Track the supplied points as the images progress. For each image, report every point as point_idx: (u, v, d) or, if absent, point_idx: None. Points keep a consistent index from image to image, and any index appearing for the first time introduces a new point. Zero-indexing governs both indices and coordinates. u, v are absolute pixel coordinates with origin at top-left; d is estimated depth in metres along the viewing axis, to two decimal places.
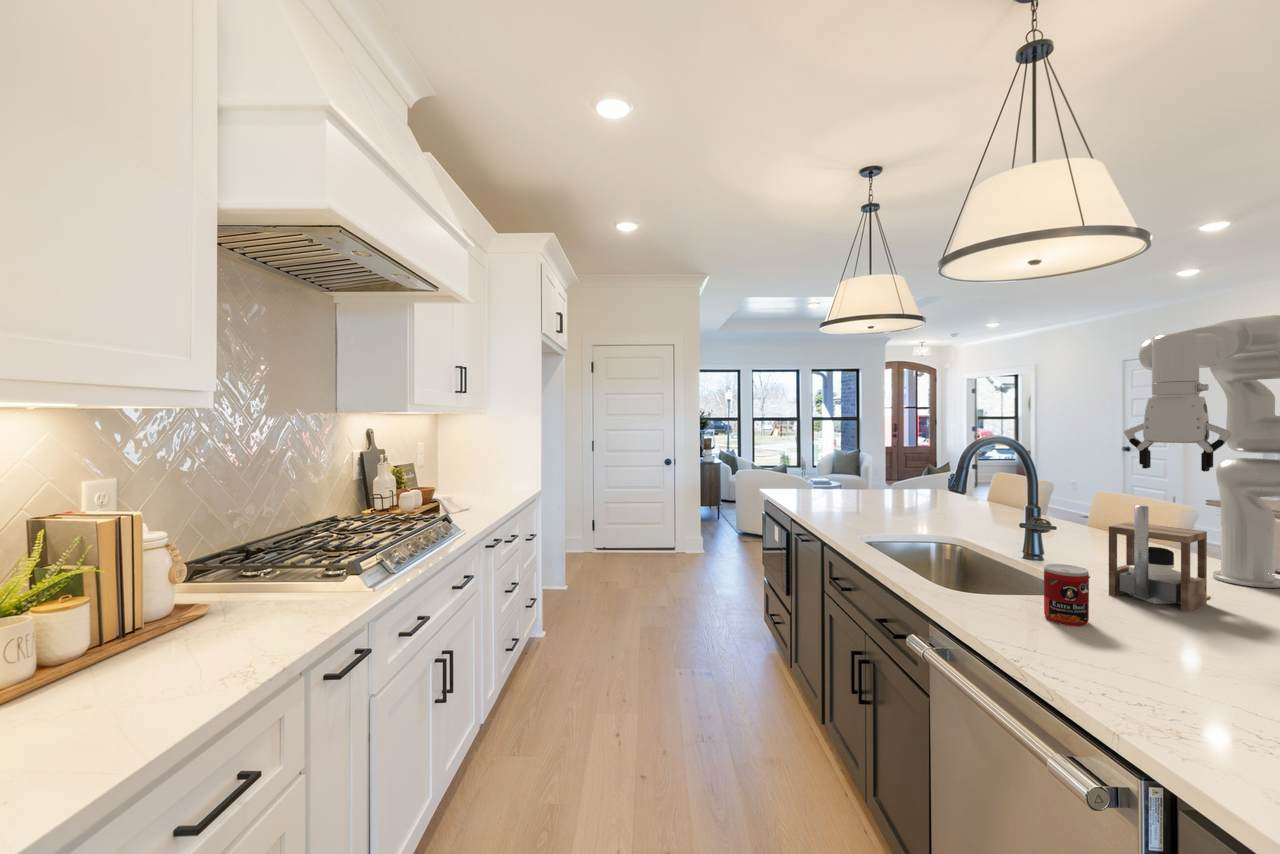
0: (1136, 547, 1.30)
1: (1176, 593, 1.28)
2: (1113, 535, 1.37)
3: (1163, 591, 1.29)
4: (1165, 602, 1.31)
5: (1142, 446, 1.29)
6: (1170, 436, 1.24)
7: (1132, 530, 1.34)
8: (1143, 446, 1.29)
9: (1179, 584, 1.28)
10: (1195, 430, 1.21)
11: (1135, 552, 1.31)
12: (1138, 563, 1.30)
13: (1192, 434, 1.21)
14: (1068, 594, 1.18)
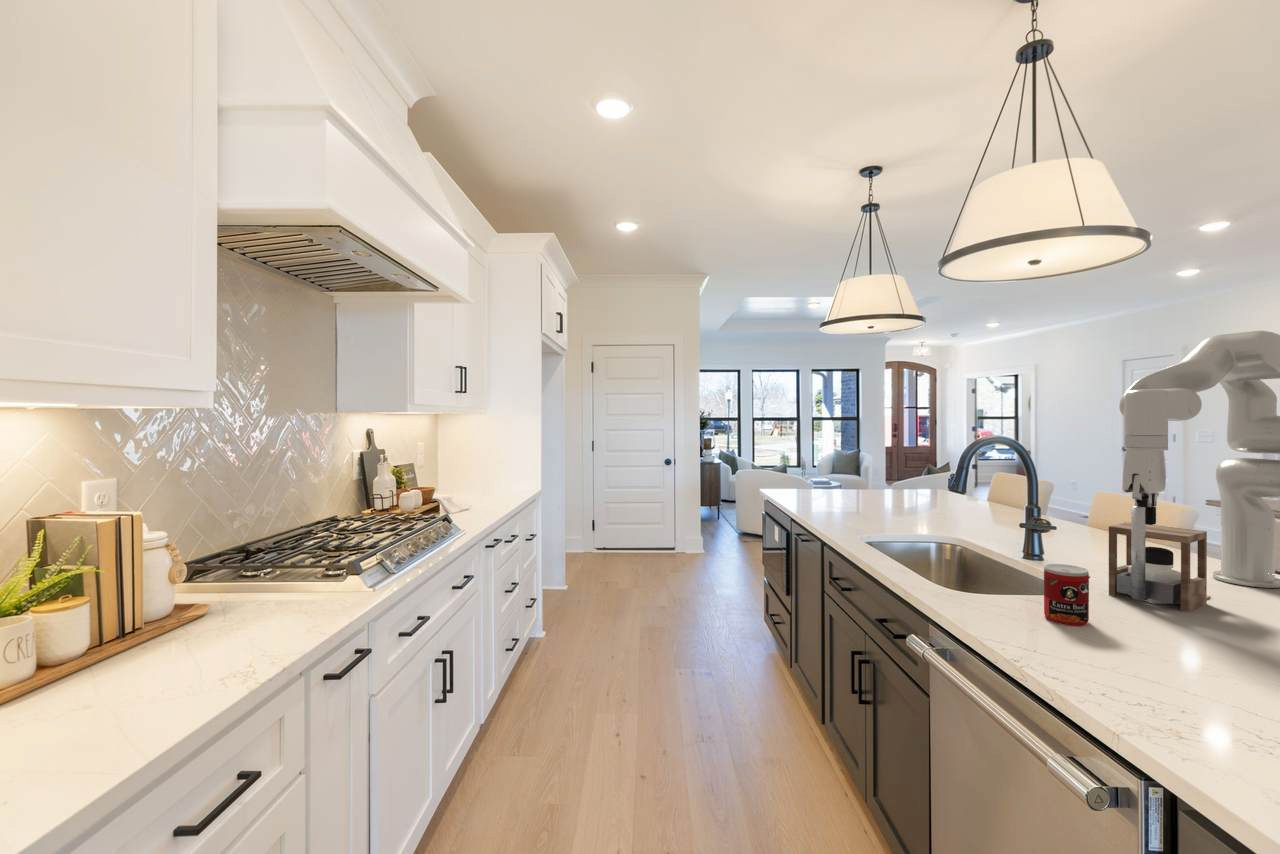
0: (1133, 548, 1.29)
1: (1173, 594, 1.27)
2: (1113, 535, 1.37)
3: (1160, 592, 1.29)
4: (1164, 602, 1.31)
5: (1150, 502, 1.30)
6: (1155, 487, 1.29)
7: None
8: (1151, 502, 1.30)
9: (1176, 585, 1.28)
10: (1164, 480, 1.31)
11: (1132, 553, 1.30)
12: (1135, 564, 1.29)
13: (1163, 484, 1.31)
14: (1068, 594, 1.18)
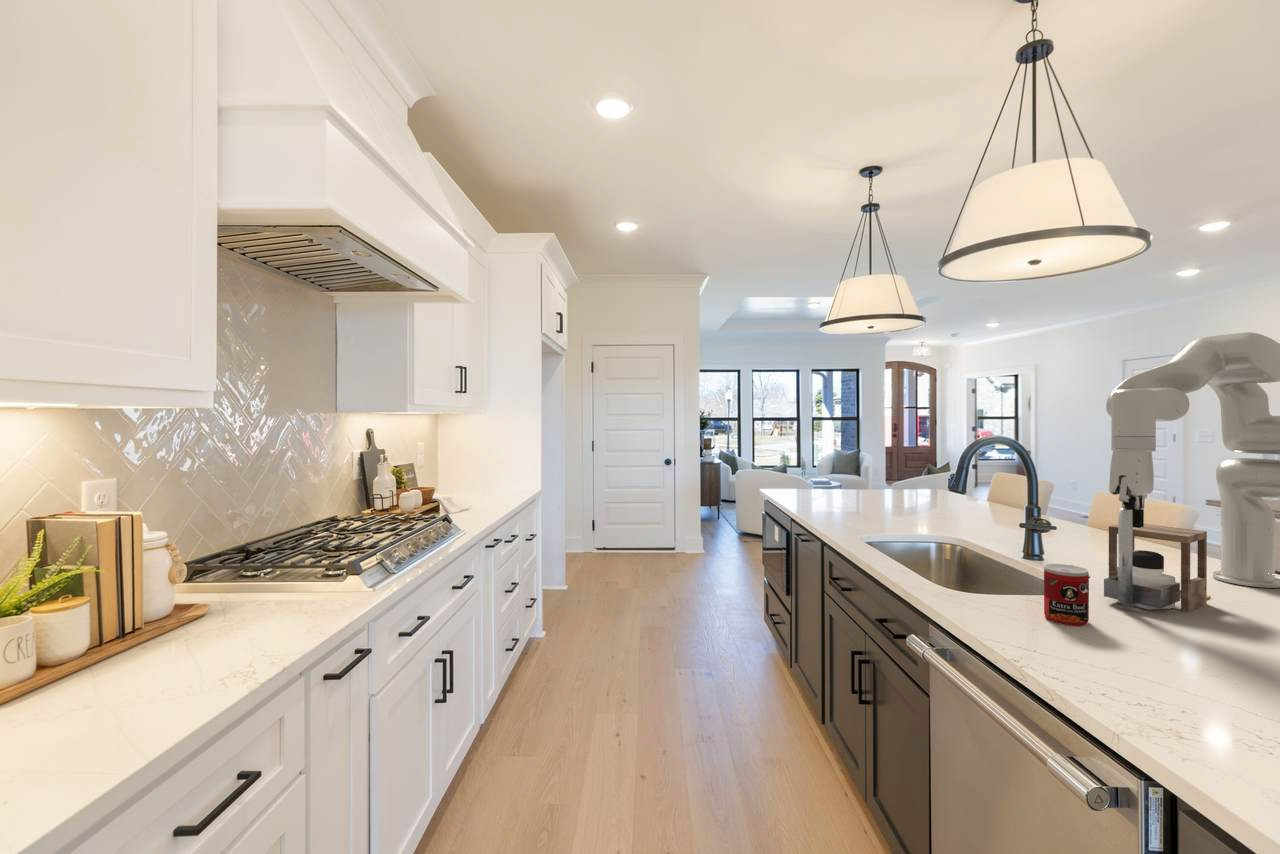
0: (1120, 551, 1.26)
1: (1160, 599, 1.24)
2: (1113, 535, 1.37)
3: (1148, 597, 1.25)
4: None
5: (1138, 505, 1.26)
6: (1143, 490, 1.26)
7: None
8: (1138, 504, 1.26)
9: (1164, 590, 1.24)
10: (1152, 482, 1.28)
11: (1119, 557, 1.27)
12: (1122, 568, 1.26)
13: (1151, 486, 1.28)
14: (1068, 594, 1.18)
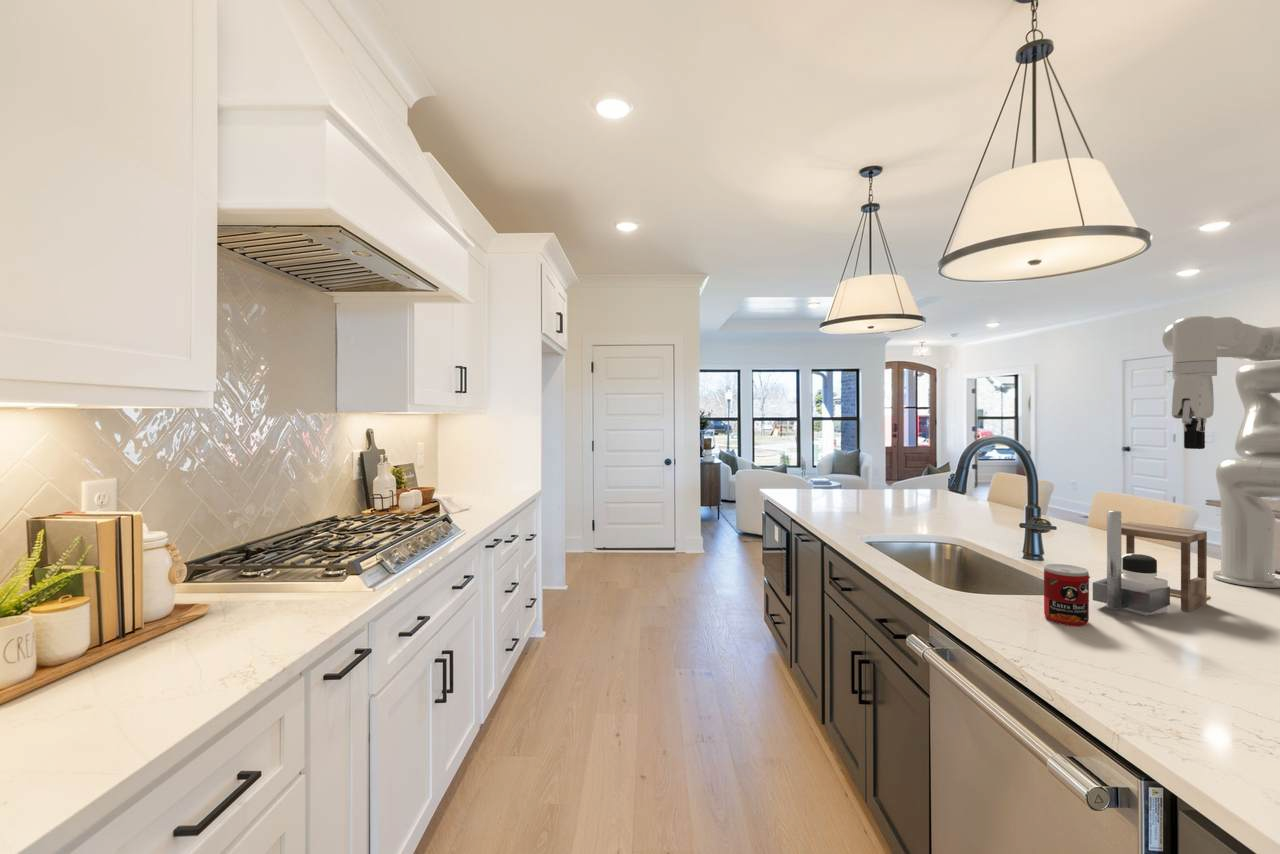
0: (1108, 555, 1.24)
1: (1150, 603, 1.21)
2: None
3: (1137, 601, 1.23)
4: (1153, 612, 1.24)
5: (1199, 427, 1.33)
6: (1205, 412, 1.33)
7: (1132, 530, 1.34)
8: (1200, 426, 1.33)
9: (1153, 594, 1.22)
10: (1212, 406, 1.35)
11: (1107, 560, 1.24)
12: (1110, 571, 1.23)
13: (1212, 410, 1.35)
14: (1068, 594, 1.18)
